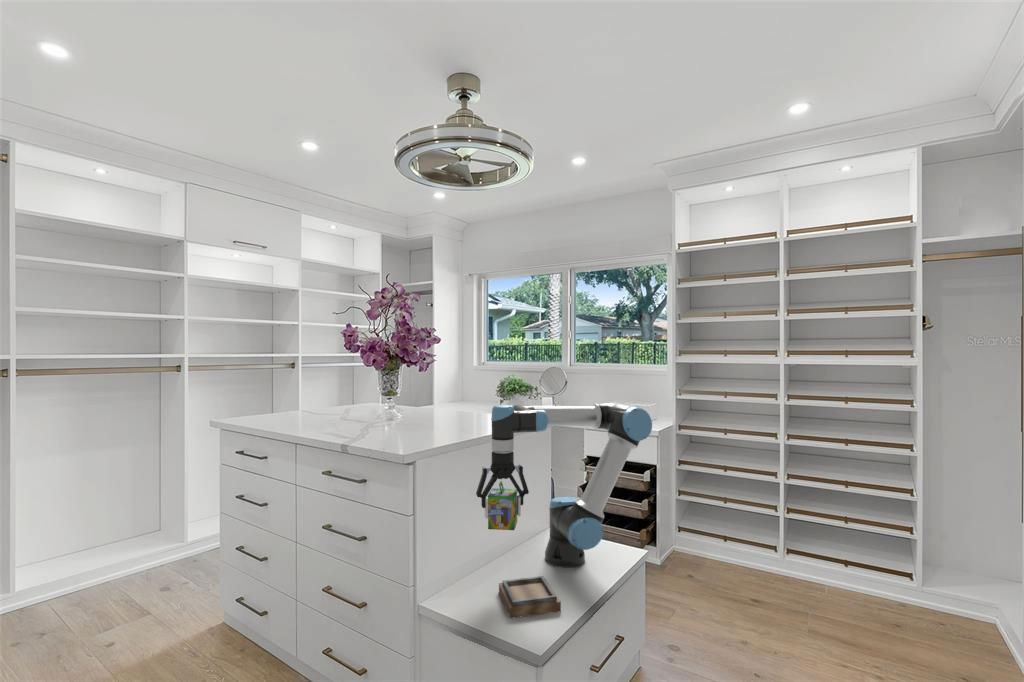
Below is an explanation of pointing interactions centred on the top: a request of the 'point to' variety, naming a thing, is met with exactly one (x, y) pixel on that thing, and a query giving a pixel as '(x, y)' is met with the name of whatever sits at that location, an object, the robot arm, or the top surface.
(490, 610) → the top surface
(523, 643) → the top surface
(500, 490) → the chalk box
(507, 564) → the top surface
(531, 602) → the wooden tray
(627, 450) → the robot arm
